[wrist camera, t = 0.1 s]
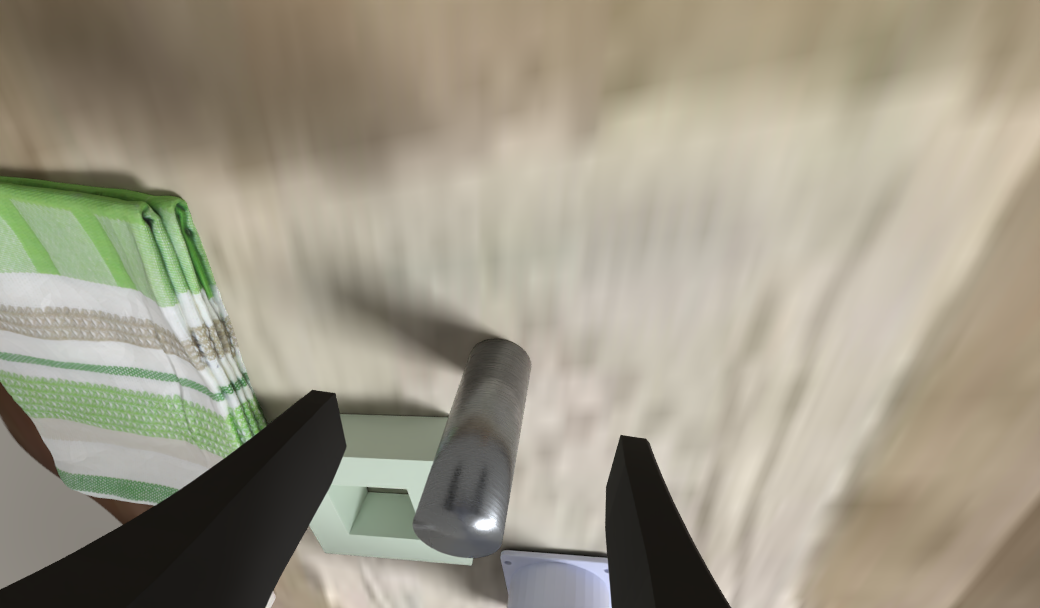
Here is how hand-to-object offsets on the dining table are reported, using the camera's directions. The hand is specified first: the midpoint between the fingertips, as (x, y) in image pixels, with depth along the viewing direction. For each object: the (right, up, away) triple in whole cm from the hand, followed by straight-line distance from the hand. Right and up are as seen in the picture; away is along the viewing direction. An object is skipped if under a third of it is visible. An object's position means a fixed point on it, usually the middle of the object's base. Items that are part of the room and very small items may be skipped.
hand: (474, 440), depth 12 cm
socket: (-7, -7, +18) cm, 21 cm away
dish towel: (-22, 0, +16) cm, 28 cm away
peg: (0, 0, +12) cm, 12 cm away
